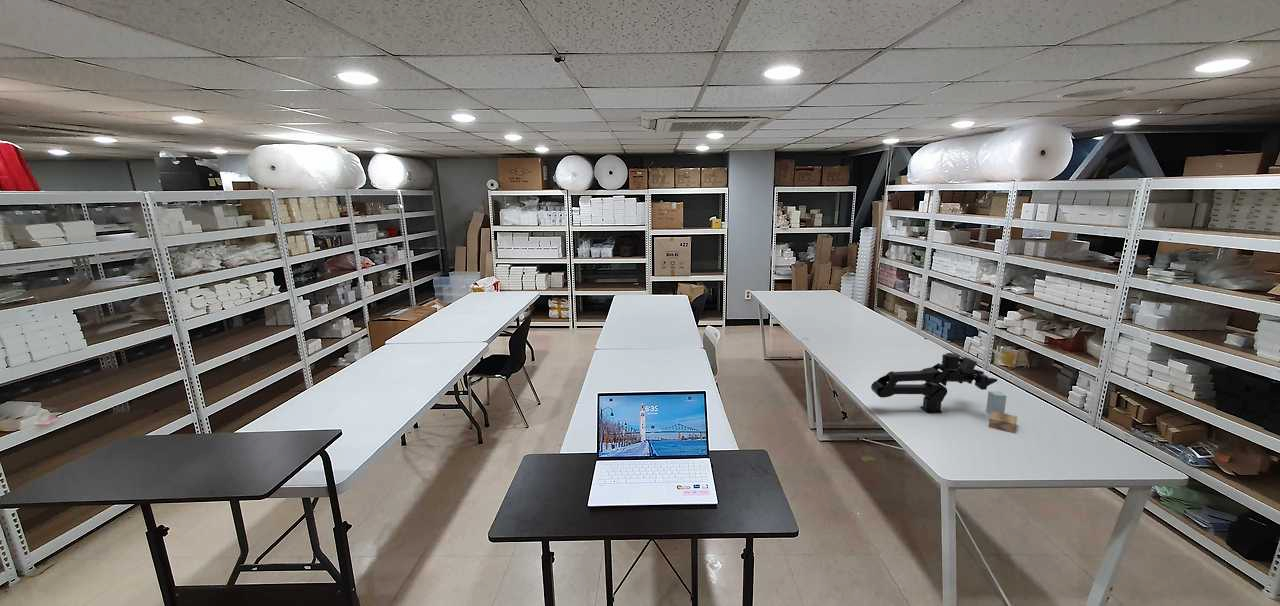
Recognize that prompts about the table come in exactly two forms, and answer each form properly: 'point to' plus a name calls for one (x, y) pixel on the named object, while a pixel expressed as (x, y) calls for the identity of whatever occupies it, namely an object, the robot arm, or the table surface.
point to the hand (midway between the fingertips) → (990, 376)
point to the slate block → (996, 402)
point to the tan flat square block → (1002, 421)
